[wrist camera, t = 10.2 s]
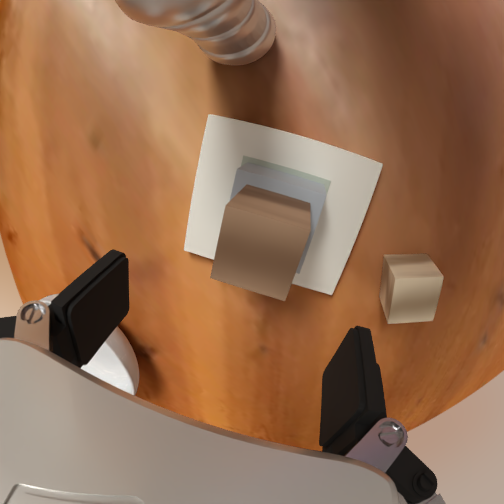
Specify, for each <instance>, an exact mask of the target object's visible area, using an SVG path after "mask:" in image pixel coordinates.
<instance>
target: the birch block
mask: <svg viewBox="0 0 504 504" xmlns="http://www.w3.org/2000/svg"><path fill="white" fill-rule="evenodd" d="M443 278H444V276H443V275H442V273H441V272H440V271H439V269H438V268H437V266H436V265H435V264H434V262H433V261H432V260H431V258H430V257H429V256H428V254H386V255H384V257H383V267H382V276H381V285H380V292H379V298H380V301H381V304H382V307H383V310H384V313H385V317H386V320H387V323H388V324H395V323H410V322H423V321H433V319H434V315H435V311H436V308H437V304H438V300H439V296H440V292H441V287H442V283H443Z"/></svg>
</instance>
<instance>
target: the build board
mask: <svg viewBox="0 0 504 504" xmlns="http://www.w3.org/2000/svg"><path fill="white" fill-rule="evenodd" d="M247 162H248V163H252V164H256V165H260V166H263V167H267V168H271V169H274V170H278V171H281V172H285V173H288V174H292V175H295V176H298V177H302V178H305V179H308V180H311V181H315V182H318V183H321V184H324V186H325V190H326V194H327V196H326V199H325V202H324V205H323V208H322V211H321V214H320V217H319V220H318V223H317V226H316V229H315V232H314V234H313V237H312V240H311V243H310V246H309V249H308V252H307V254H306V257H305V260H304V263H303V265H302V268H301V271H300V274H298V273H295V276H294V279H293V281H292V284H295V285H298V286H302V287H305V288H309V289H312V290H315V291H319V292H322V293H326V294H329V295H332V294H333V291H334V289H335V287H336V285H337V283H338V280H339V278H340V276H341V273H342V271H343V269H344V266H345V264H346V262H347V259H348V257H349V255H350V252H351V250H352V247H353V245H354V242H355V240H356V237H357V235H358V232H359V230H360V227H361V225H362V222H363V219H364V217H365V214H366V211H367V209H368V206H369V203H370V201H371V198H372V195H373V192H374V189H375V187H376V184H377V181H378V178H379V175H380V172H381V169H382V166H383V164H382V163H380V162H377V161H375V160H372V159H369V158H367V157H364V156H361V155H359V154H356V153H353V152H350V151H347V150H344V149H341V148H338V147H335V146H332V145H329V144H326V143H323V142H320V141H317V140H313V139H310V138H307V137H303V136H300V135H297V134H293V133H289V132H286V131H282V130H278V129H274V128H271V127H267V126H263V125H258V124H254V123H250V122H246V121H241V120H237V119H232V118H227V117H222V116H217V115H210V114H209V115H208V119H207V124H206V128H205V133H204V138H203V142H202V147H201V152H200V157H199V162H198V168H197V173H196V178H195V184H194V189H193V195H192V201H191V207H190V213H189V219H188V226H187V232H186V239H185V246H184V250H185V251H188V252H191V253H194V254H197V255H200V256H204V257H207V258H210V259H213V260H214V257H215V252H216V247H217V243H218V238H219V233H220V228H221V224H222V219H223V215H224V210H225V205H226V204H227V203H228V202H229V201H230V197H231V193H232V188H233V184H234V179H235V175H236V171H237V169H238V168H239V167H241V166H242V165H244V164H246V163H247Z"/></svg>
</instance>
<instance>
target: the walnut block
mask: <svg viewBox="0 0 504 504" xmlns="http://www.w3.org/2000/svg"><path fill="white" fill-rule="evenodd" d="M310 231H311V217H310V203H308V202H305V201H302V200H299V199H296V198H292V197H289V196H286V195H282V194H279V193H276V192H272V191H269V190H265V189H262V188H259V187H255V186H251V185H248V184H246V185H245V186H244V187H243V188H242V189H241V190H240V191H239V192H238V193H237V194H236V195H235V196H234V197H233V198H232V199H231V200H230V201H229V202H228V203H227V204H226V205H225V210H224V215H223V219H222V224H221V228H220V233H219V238H218V243H217V247H216V252H215V257H214V262H213V267H212V272H211V277H210V278H212V279H215V280H218V281H221V282H224V283H228V284H231V285H234V286H237V287H240V288H243V289H246V290H250V291H253V292H256V293H259V294H263V295H266V296H269V297H272V298H276V299H279V300H282V301H285V300H286V297H287V295H288V292H289V289H290V287H291V284H292V281H293V279H294V276H295V273H296V270H297V268H298V265H299V262H300V259H301V257H302V254H303V251H304V248H305V245H306V243H307V240H308V237H309V234H310Z"/></svg>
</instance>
